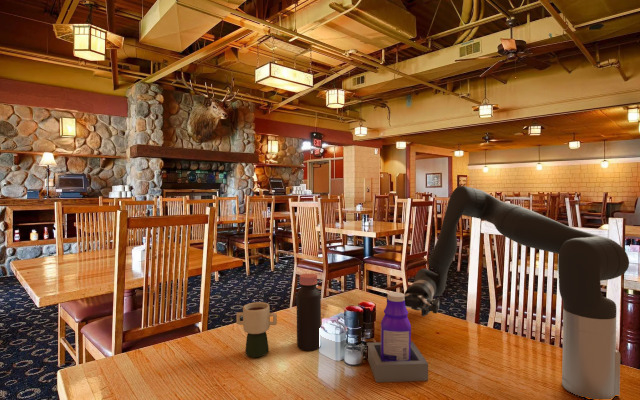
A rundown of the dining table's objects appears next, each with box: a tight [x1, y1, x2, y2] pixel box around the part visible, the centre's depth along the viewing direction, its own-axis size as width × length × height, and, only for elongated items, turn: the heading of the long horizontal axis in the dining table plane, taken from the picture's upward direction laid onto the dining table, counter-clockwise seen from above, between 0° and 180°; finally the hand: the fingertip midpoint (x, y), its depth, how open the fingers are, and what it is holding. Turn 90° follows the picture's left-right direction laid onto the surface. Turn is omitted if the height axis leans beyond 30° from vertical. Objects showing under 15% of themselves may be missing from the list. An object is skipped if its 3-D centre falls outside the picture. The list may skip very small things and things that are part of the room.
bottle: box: [380, 291, 412, 362], centre depth 89 cm, size 7×6×17 cm
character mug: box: [235, 301, 278, 358], centre depth 98 cm, size 11×7×13 cm, turn 86°
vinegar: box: [295, 273, 322, 352], centre depth 102 cm, size 7×7×20 cm
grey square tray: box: [366, 340, 429, 383], centre depth 89 cm, size 12×12×4 cm
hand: (406, 310), depth 99 cm, fingers open, 8 cm apart
